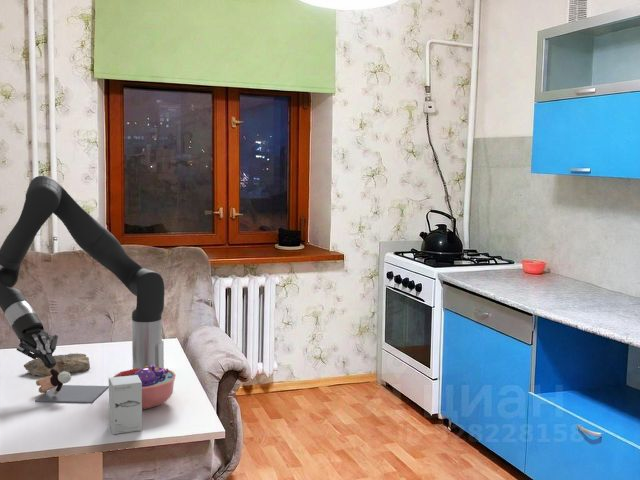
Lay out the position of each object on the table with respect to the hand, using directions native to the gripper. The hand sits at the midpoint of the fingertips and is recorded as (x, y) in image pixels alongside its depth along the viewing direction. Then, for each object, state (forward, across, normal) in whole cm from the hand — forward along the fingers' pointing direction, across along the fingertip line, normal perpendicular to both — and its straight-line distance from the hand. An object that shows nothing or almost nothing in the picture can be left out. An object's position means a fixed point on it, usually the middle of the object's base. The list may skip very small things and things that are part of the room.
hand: (52, 366), depth 191 cm
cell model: (+26, -10, +12) cm, 30 cm away
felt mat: (+8, -5, -4) cm, 10 cm away
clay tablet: (-9, -18, -21) cm, 29 cm away
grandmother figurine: (0, 0, -9) cm, 9 cm away
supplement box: (+32, +5, +17) cm, 37 cm away
